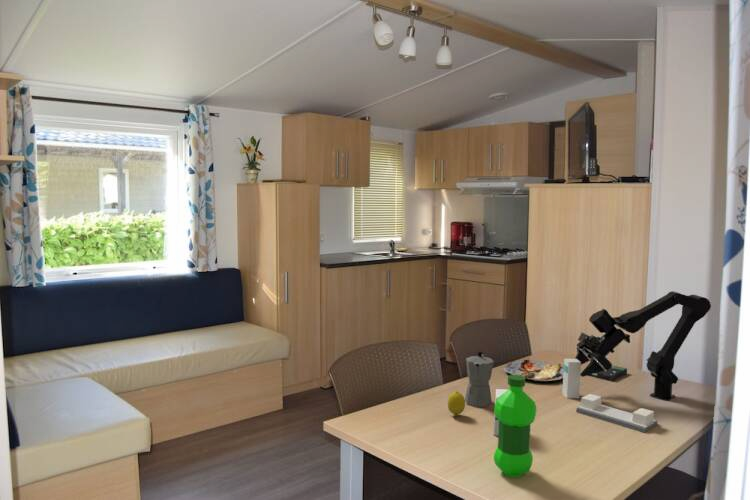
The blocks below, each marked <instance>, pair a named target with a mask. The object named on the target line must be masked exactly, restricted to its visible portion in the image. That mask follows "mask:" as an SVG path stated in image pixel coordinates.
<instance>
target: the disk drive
mask: <svg viewBox="0 0 750 500" xmlns="http://www.w3.org/2000/svg"><path fill="white" fill-rule="evenodd" d="M604 370H605V369H604ZM627 374H628V368H626V367H622V366H621V367H620V366H618V365H612V368H611V369H610V370H609V371H607V370H605V371H602V372H598V373H594V374H590V375H587V376H588V377H592V378H594V379H600V380H604V381H608V382H614V381H616V380H617V379H619V378H621V377H624V376H626V375H627ZM587 376H586V377H587Z"/></svg>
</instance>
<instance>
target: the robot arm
mask: <svg viewBox="0 0 750 500" xmlns="http://www.w3.org/2000/svg"><path fill="white" fill-rule="evenodd" d="M677 305H680V306H682V307H681V316H680V318H679V319H678V321H677V322H676V324H675V326H674V328H673V329H672V331H671V333H670V334H669V336H668V338H667V339H666V341H665V343H664V344H663V346H662V348H661V349H660V350H658V351H657V352H656V351H654V350H653V351H651V352H650V355H649V357H648V358H647V359H646V361H647V362H646V368H647V370H648V371H649V372H650V376H651V377H653V378H654V385H653V387H654V388H653V392H652V393H650V394H649V396H650V397H653V398H658V399H661V400H665V401H670V400H672V399H674V398H675V397H676V395H675V394H672V393H673V384H674V385H676V384H677V382H678V381H679V377H678V376H677V375H676V374H675V373H674V372H673V369H674V367H675V357H676V355H677V353H678V352H679V350H680V349H681V347H682V345H683V344H684V342H685V340H686V339H687V337H688V335H689V334H690V333H691V331H692V329H693V327H694V326H695V324H696V323H697V322H698V321H699V320H702V319H703V318H705V316H706V315H707V314H708V312H709V311H710V310H711V308H712V304H711V302H710V300H709V299H708V298H706V297H704V296H700V295H697V294H690V295H686V294H682V293H679V292H678V291H674V290H673V291H669V292H668V293H666V294H665V295H663V296H661V297H660V298H658V299H655V300H654V301H653V302H651V303H649V304H648V305H645V306H643V307H642V308H640V309H637V310H632V311H628V312H625V313H623V314H620V315H619V316H614V317H613V316H611V315H610V313H609V312H608V310H607V309H605V308H602V309H601V310H598V311H596V312H595V313H592V315H590V317H589V319H588V321H589V322H590V323H591V325H593V326H594V328H595V329H596V330H597V331H598V332H599V333H600V334H602V336H601V337H600V336H595V335H593V334H591V335H588V334H586V333H584V332H581V333H580V335H579V337H578V339H577V341H579V342H578V343H577V344H576V353H577V354H576V356H575V357H574V359H577V360H579V361H580V362H581V366H582V365H583V364H586V363H588V362H589V363H588V365H586V367H585V368H584V369H583V370H582V371H581V374H580V377H582V378H583V377H587V375H590V374H594V373H598V372H602V371H605V370H607V371H609V370H610V369H611V368H612V366H613V364H612V362H611V361H610V360H609V359H608V358H607V356H608V355H609V354H610V353H611V354H614V352H615V349H616V347H618V346H619V345H620V344H621V343H622V342H623V341H624V342H626V343H628V344H630V343H631V335H630V334H636V333H637V332H639V331H640V330H641V329H642V328H644V327H645V326H646V325H647V323H648V322H649V321H650V320H652V319H654V318H656V317H658V316H659V315H660V314H663V313H664V312H666V311H668V310H670V309H672V308H673V307H675V306H677ZM616 326H617V327H619V328H617V327H616ZM624 331H626V332H628V333H630V334H628V333H625V332H624ZM603 333H604V334H603ZM604 369H605V370H604Z"/></svg>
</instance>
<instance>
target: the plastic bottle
mask: <svg viewBox="0 0 750 500" xmlns="http://www.w3.org/2000/svg"><path fill="white" fill-rule="evenodd" d="M520 375H521V374H520ZM520 375H519V374H516V375H512V374H510V375H508V377H507V385H509V389H507V390H508V391H506V392H505V393H503V394H502V395H501V396H499V397H498V399H497V401H496V403H495V402H494V409H493V410H494V411H493V413H494V412H495V416H496V417H497V418H498V420H499V434H498V436H497V437H498V438H497V439H498V440H497V447H496V449H495V451H494V455H493V461H494V462H493V463H494V464H495V466H497V468H498V469H499V470H500V471H501V472H502V473H503V474H504V475H505V476H508V477H510V478H519V477H522V476H523V475H525V474H526V473H528V472H529V471H530V470H531V468H532V465H533V459H534V458H533V453H532V450H531V449H530V443H531V441H530V440H531V424H532V423H534V421H535V418H536V414H537V405H536V402H535V401H534V400H533V399H532V398H531V397H530V396H529V395H528V394H527V393H525V391H524V389H523V387H525V386H526V379H525V377H523V376H520ZM522 474H523V475H522ZM521 475H522V476H521Z"/></svg>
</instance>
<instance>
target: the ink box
mask: <svg viewBox="0 0 750 500" xmlns="http://www.w3.org/2000/svg"><path fill="white" fill-rule="evenodd" d="M508 390H509V389H504V388H503V389H501V388H496V389H495V396H494V397H495V398H494V404H495V403H496V401H497V399H498V397H499V396H501V395H502V394H503V393H505V392H506V391H508ZM498 434H499V420H498V418H497V417H496V416H495V412H494V411H493V436H495V437H498Z"/></svg>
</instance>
